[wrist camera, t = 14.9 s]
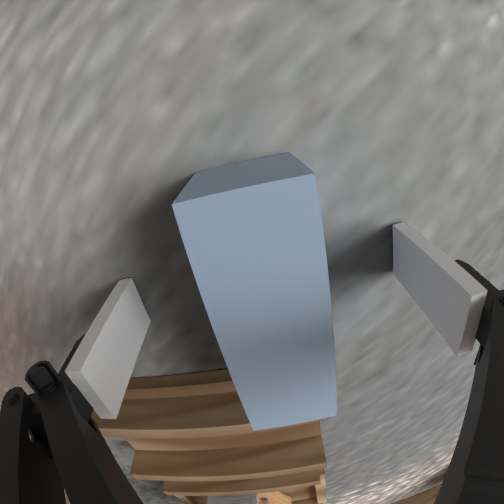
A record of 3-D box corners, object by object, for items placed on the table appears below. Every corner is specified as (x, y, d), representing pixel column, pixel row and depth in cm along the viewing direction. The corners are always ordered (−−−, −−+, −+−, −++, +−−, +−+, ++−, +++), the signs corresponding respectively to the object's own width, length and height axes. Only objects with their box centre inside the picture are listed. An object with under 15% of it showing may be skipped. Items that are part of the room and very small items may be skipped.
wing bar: (250, 360, 18) (253, 430, 13) (196, 171, 13) (171, 204, 8) (318, 347, 17) (337, 415, 13) (288, 151, 13) (314, 173, 8)
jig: (88, 379, 18) (72, 417, 15) (310, 354, 17) (321, 400, 14) (201, 502, 29) (200, 525, 25) (324, 490, 28) (328, 514, 24)
